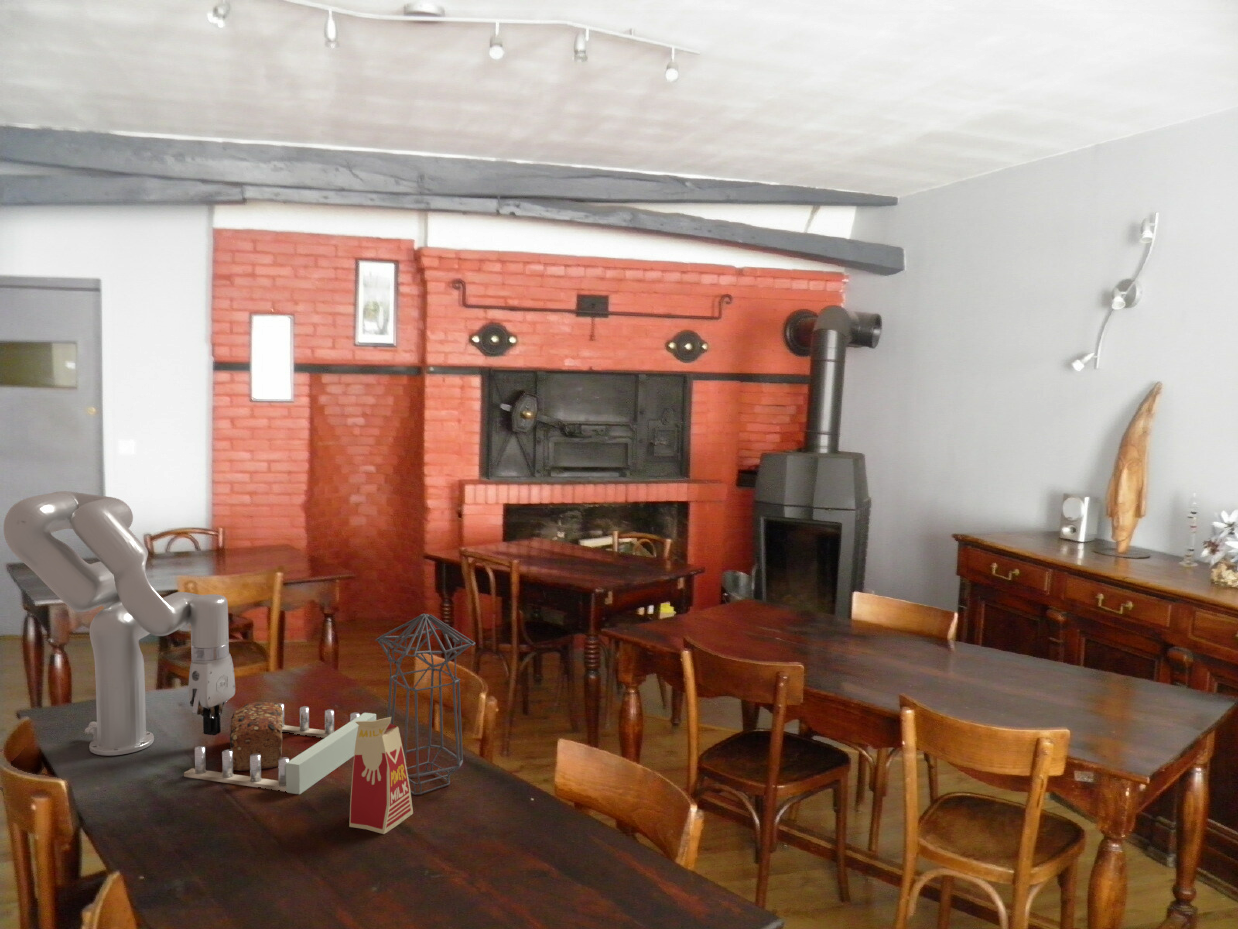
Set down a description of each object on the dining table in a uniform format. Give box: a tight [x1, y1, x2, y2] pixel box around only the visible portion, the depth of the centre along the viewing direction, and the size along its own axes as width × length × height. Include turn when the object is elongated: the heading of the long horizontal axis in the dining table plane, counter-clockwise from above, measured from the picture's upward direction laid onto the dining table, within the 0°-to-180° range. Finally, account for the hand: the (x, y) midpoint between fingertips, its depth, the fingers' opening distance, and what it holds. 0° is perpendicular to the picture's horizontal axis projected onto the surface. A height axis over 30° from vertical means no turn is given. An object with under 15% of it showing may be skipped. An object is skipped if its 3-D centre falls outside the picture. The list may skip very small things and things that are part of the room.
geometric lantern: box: [374, 613, 476, 796], centre depth 192 cm, size 16×16×35 cm
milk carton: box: [348, 716, 414, 835], centre depth 176 cm, size 9×9×20 cm
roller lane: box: [183, 702, 377, 795], centre depth 205 cm, size 27×30×6 cm
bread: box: [229, 701, 283, 772], centre depth 206 cm, size 19×11×10 cm, turn 19°
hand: (212, 733), depth 210 cm, fingers closed
